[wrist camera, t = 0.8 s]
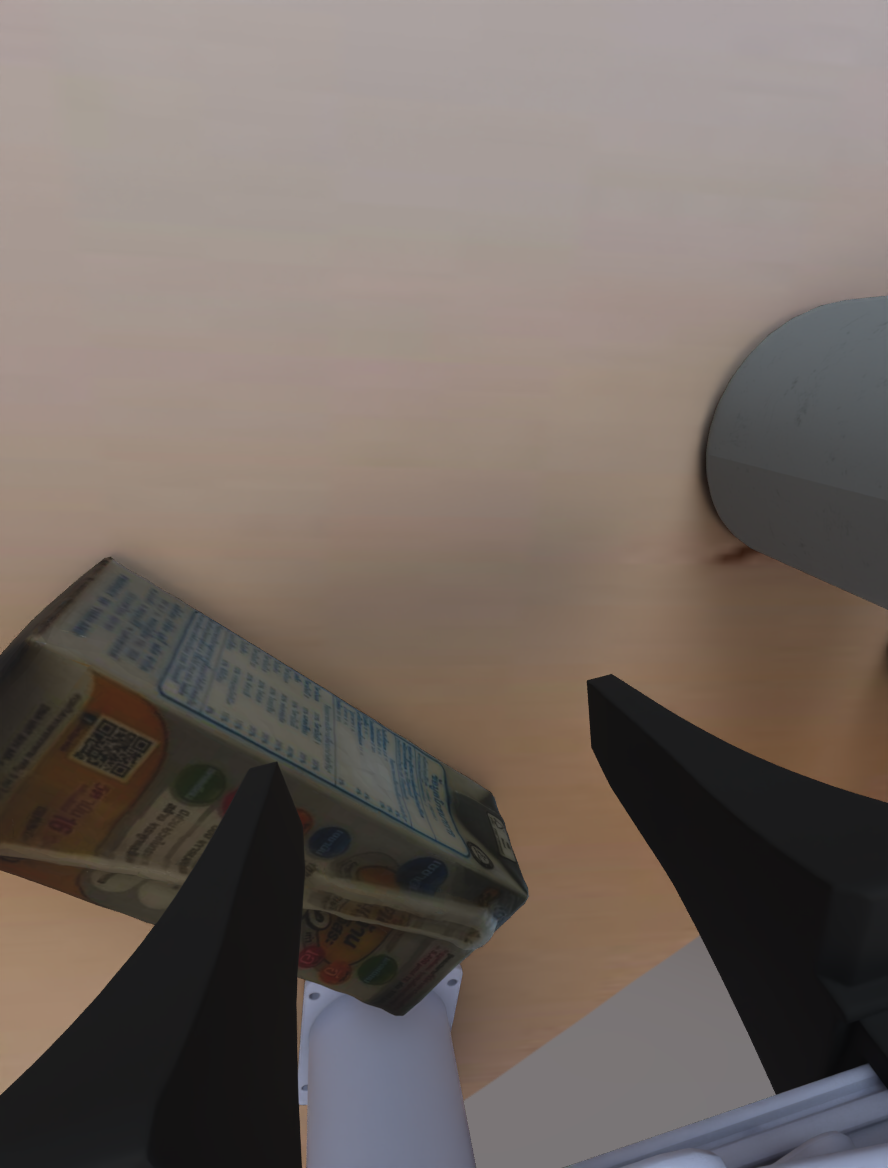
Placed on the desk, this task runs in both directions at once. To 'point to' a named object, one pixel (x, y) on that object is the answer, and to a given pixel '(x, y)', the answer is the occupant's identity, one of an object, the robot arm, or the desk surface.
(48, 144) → the desk surface
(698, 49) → the desk surface
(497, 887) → the beverage carton
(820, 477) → the water bottle
